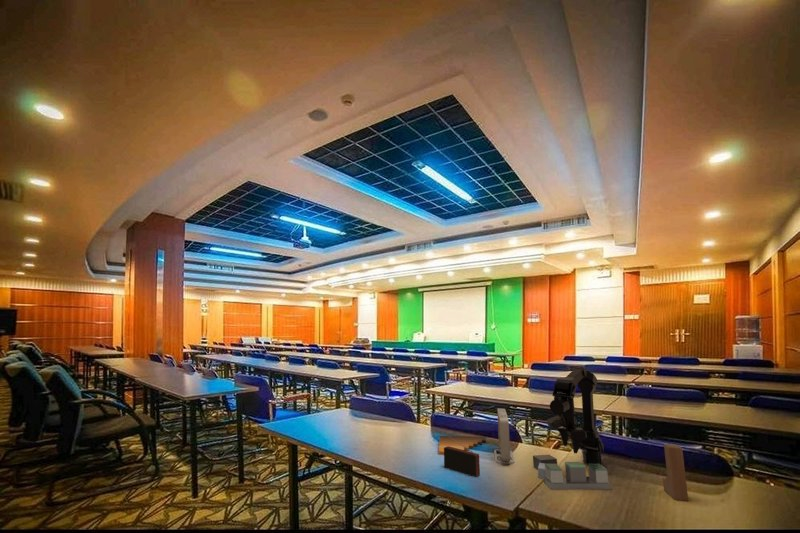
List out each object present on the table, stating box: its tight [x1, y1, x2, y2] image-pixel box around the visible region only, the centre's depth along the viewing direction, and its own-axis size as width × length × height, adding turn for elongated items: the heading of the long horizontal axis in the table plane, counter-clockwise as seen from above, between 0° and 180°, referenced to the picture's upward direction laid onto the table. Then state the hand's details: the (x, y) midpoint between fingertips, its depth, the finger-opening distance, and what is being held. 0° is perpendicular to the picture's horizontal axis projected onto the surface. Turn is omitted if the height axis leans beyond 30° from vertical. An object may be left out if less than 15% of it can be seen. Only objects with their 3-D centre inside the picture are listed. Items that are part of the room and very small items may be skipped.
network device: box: [493, 408, 516, 465], centre depth 184 cm, size 26×9×20 cm, turn 168°
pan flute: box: [438, 435, 487, 456], centre depth 197 cm, size 25×3×25 cm
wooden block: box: [662, 443, 689, 502], centre depth 142 cm, size 9×4×18 cm, turn 167°
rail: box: [543, 463, 612, 490], centre depth 150 cm, size 23×7×7 cm, turn 90°
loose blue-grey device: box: [537, 463, 545, 480], centre depth 159 cm, size 5×7×4 cm
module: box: [564, 461, 587, 482], centre depth 150 cm, size 6×4×6 cm
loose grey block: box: [532, 454, 558, 471], centre depth 167 cm, size 8×6×5 cm
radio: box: [440, 430, 481, 478], centre depth 166 cm, size 19×3×15 cm, turn 47°
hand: (570, 449), depth 157 cm, fingers open, 9 cm apart
